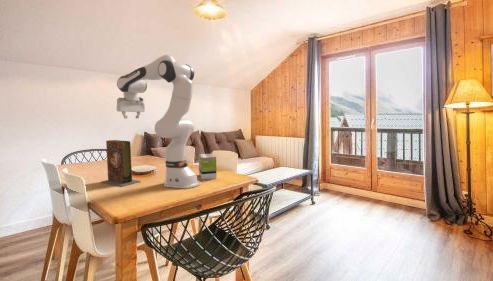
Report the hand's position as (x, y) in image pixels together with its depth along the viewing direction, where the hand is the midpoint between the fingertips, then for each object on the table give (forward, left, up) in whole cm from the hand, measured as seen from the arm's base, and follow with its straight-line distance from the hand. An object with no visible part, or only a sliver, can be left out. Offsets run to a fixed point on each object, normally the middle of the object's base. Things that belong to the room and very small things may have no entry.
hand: (131, 118), depth 179 cm
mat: (-13, +19, -39) cm, 46 cm away
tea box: (-51, -18, -39) cm, 67 cm away
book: (-12, +20, -39) cm, 45 cm away
